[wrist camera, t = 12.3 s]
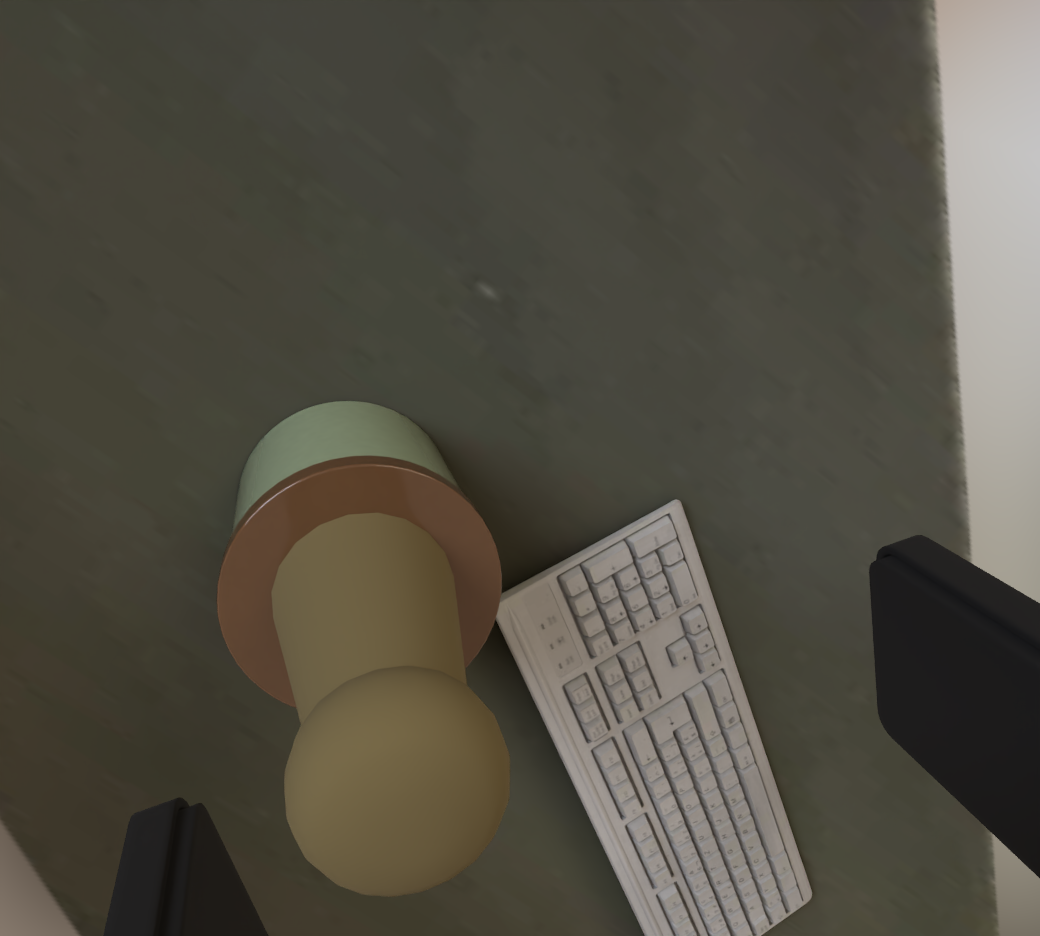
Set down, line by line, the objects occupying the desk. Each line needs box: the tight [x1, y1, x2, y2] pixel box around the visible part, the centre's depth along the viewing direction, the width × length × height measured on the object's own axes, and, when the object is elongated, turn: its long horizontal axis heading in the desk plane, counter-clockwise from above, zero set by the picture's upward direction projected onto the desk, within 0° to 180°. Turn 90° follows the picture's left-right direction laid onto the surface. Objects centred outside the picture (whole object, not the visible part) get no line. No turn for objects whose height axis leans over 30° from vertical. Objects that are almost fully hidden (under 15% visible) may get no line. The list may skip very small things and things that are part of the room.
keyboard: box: [496, 500, 812, 936], centre depth 45 cm, size 29×10×2 cm, turn 22°
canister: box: [217, 401, 502, 708], centre depth 32 cm, size 9×9×9 cm
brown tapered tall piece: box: [271, 513, 510, 897], centre depth 23 cm, size 6×6×11 cm
